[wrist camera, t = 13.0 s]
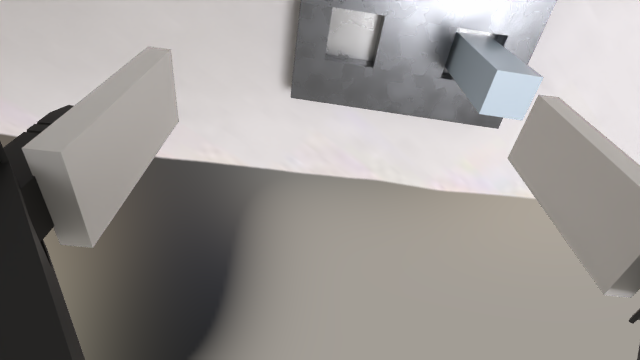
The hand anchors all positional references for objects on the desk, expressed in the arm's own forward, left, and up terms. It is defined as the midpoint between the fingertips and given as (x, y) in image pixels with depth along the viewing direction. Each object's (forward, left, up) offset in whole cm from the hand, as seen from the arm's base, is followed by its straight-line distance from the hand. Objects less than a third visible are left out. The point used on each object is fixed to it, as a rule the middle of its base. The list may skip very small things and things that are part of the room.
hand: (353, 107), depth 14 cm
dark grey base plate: (+4, +8, -28) cm, 30 cm away
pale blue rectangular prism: (+4, +14, -28) cm, 31 cm away
